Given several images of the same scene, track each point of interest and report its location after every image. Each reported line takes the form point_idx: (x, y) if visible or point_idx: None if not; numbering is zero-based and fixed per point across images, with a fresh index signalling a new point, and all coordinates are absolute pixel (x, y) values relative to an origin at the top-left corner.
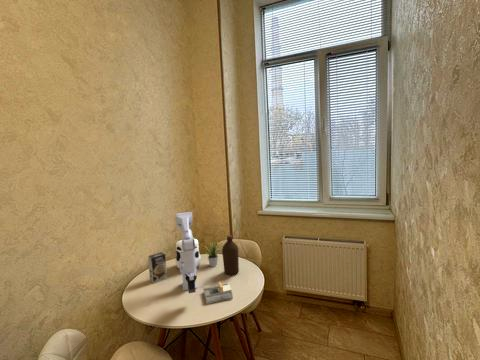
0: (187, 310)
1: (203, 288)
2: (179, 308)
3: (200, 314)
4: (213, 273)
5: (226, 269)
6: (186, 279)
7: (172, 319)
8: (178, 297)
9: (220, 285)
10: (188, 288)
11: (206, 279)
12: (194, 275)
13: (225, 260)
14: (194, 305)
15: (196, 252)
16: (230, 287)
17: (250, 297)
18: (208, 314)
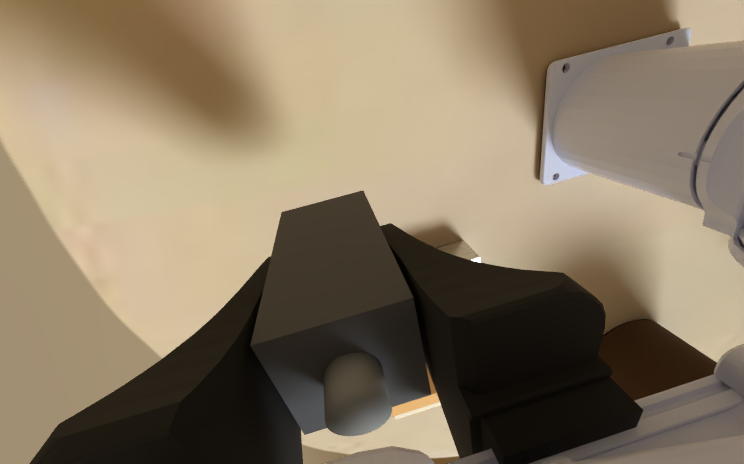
0: (227, 162)
1: (473, 260)
2: (255, 79)
3: (182, 267)
4: (675, 261)
5: (640, 365)
6: (35, 461)
7: (53, 35)
8: (447, 31)
9: (418, 401)
10: (276, 244)
11: (626, 230)
12: (442, 406)
13: None
14: (299, 206)
15: None
16: (421, 410)
17: (355, 446)
18: (189, 312)
